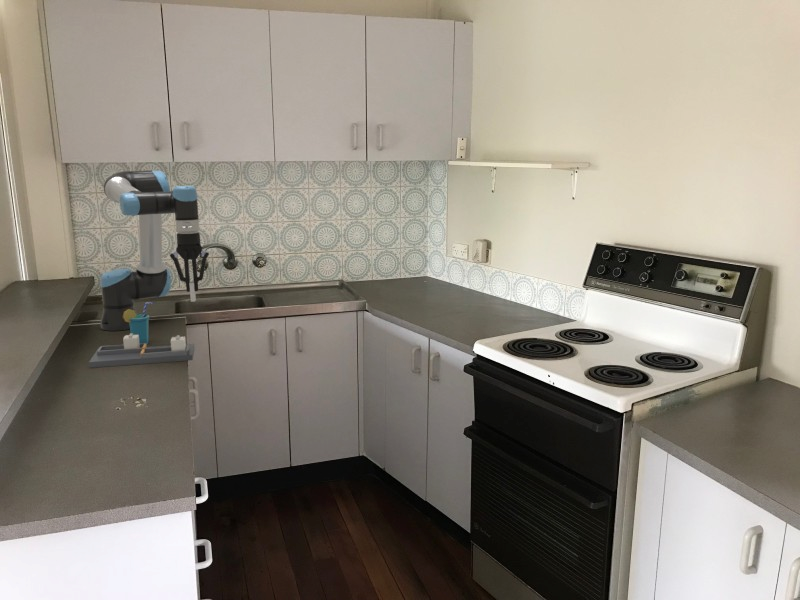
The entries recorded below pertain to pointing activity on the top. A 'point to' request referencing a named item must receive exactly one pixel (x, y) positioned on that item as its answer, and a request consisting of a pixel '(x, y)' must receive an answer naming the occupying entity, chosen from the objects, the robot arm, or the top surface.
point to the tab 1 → (131, 341)
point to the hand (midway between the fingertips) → (193, 300)
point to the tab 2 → (178, 343)
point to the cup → (138, 323)
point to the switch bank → (138, 355)
